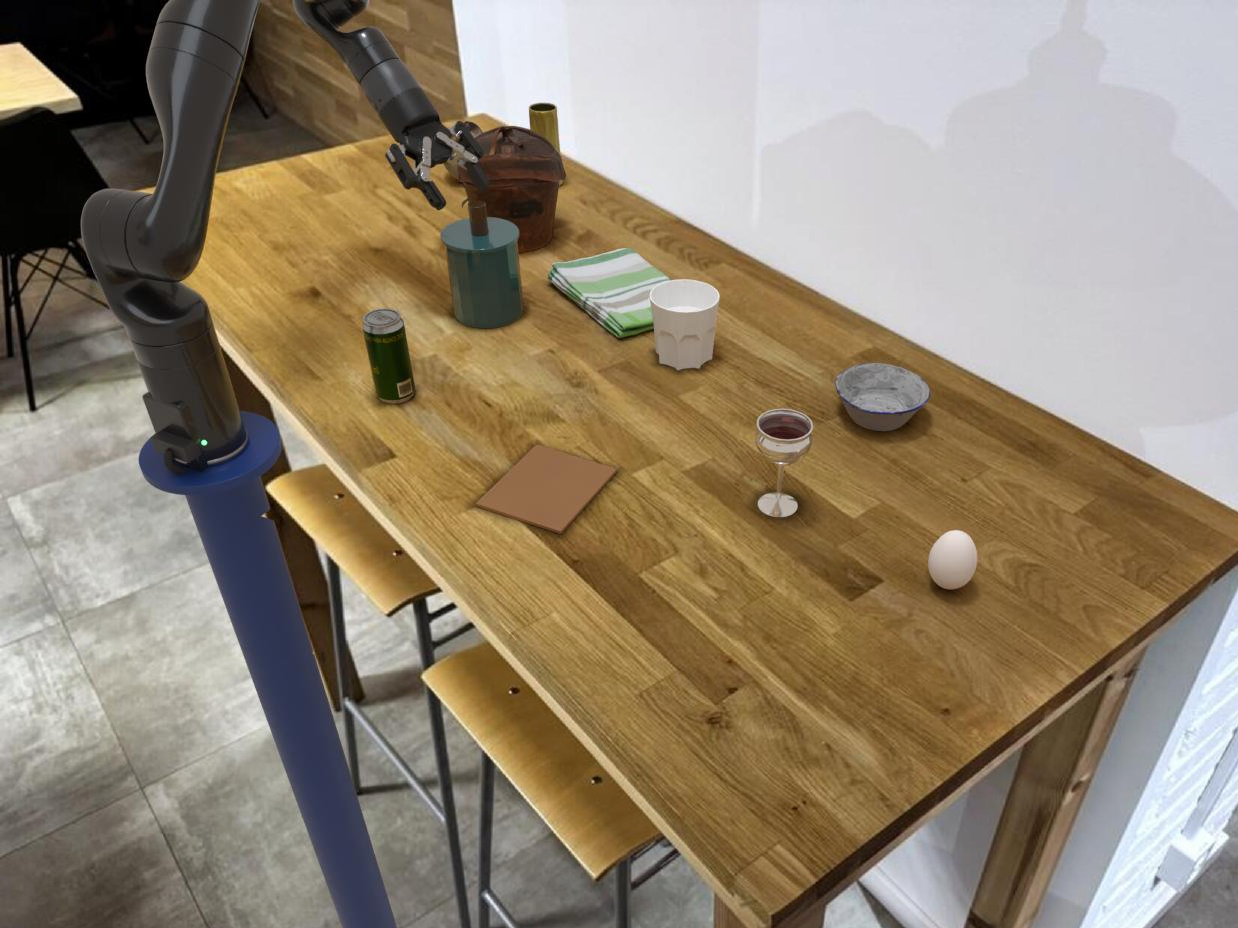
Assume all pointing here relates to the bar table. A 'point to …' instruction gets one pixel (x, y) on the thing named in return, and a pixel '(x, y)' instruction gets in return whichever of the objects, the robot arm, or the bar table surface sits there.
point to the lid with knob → (479, 232)
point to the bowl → (881, 395)
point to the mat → (547, 488)
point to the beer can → (388, 355)
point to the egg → (953, 560)
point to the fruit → (449, 167)
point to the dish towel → (611, 289)
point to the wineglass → (782, 452)
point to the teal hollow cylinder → (486, 287)
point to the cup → (684, 322)
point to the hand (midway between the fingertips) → (464, 198)
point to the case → (519, 182)
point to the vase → (545, 123)
